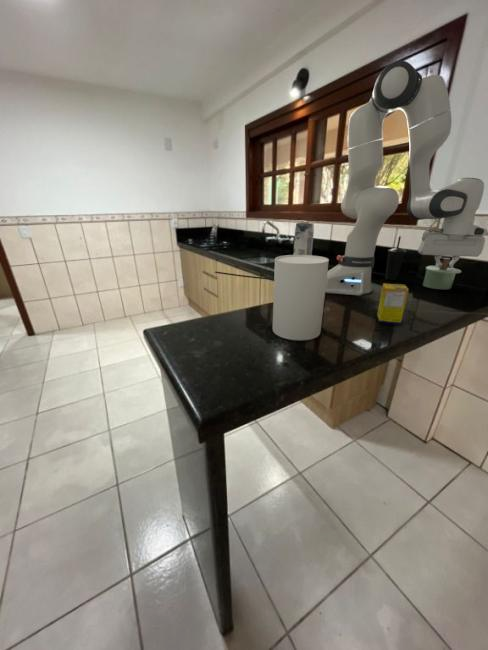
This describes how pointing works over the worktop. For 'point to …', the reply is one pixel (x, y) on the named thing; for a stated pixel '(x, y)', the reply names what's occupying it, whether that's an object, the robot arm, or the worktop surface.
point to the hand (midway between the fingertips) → (443, 267)
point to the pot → (438, 280)
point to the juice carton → (303, 238)
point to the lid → (444, 268)
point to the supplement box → (392, 303)
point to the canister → (299, 296)
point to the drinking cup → (394, 262)
